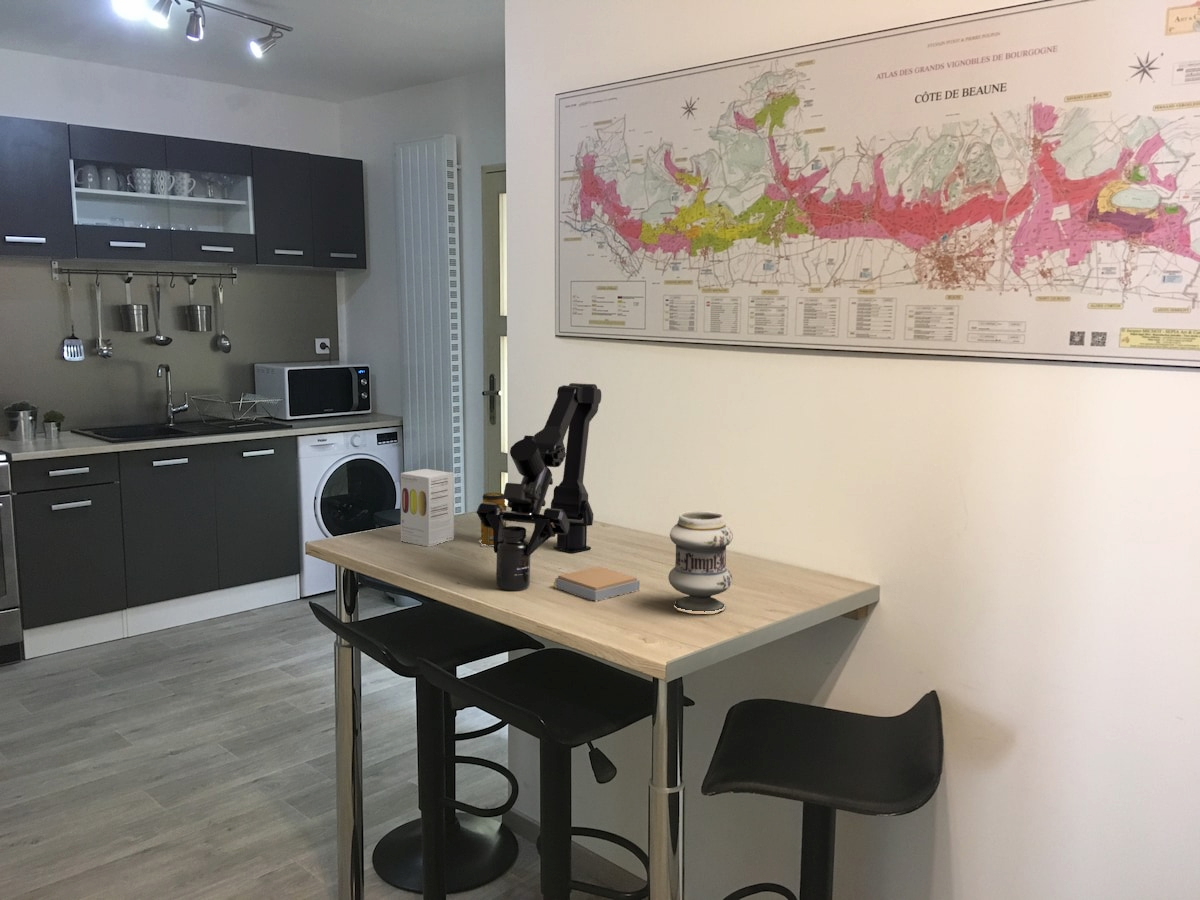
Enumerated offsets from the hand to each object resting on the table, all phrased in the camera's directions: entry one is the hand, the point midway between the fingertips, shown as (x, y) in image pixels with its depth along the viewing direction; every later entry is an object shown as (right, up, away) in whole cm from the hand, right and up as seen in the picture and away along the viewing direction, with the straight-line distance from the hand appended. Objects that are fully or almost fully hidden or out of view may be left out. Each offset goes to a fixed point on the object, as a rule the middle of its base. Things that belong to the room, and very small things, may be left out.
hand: (511, 553), depth 187 cm
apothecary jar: (+37, -9, -9) cm, 39 cm away
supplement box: (-24, -2, +39) cm, 46 cm away
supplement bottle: (0, -7, +2) cm, 7 cm away
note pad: (+17, -7, +2) cm, 19 cm away
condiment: (-7, -2, +39) cm, 40 cm away
